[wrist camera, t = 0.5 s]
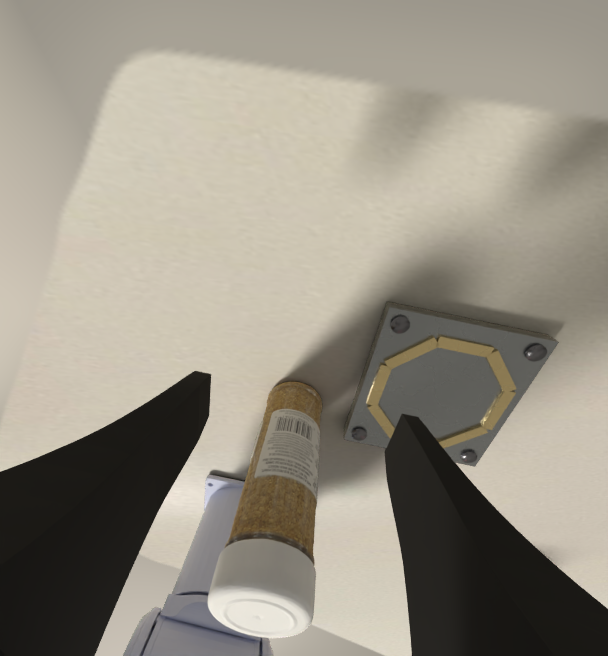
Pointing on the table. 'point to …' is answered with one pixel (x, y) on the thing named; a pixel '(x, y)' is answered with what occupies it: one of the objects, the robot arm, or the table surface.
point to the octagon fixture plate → (444, 378)
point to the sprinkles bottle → (274, 524)
